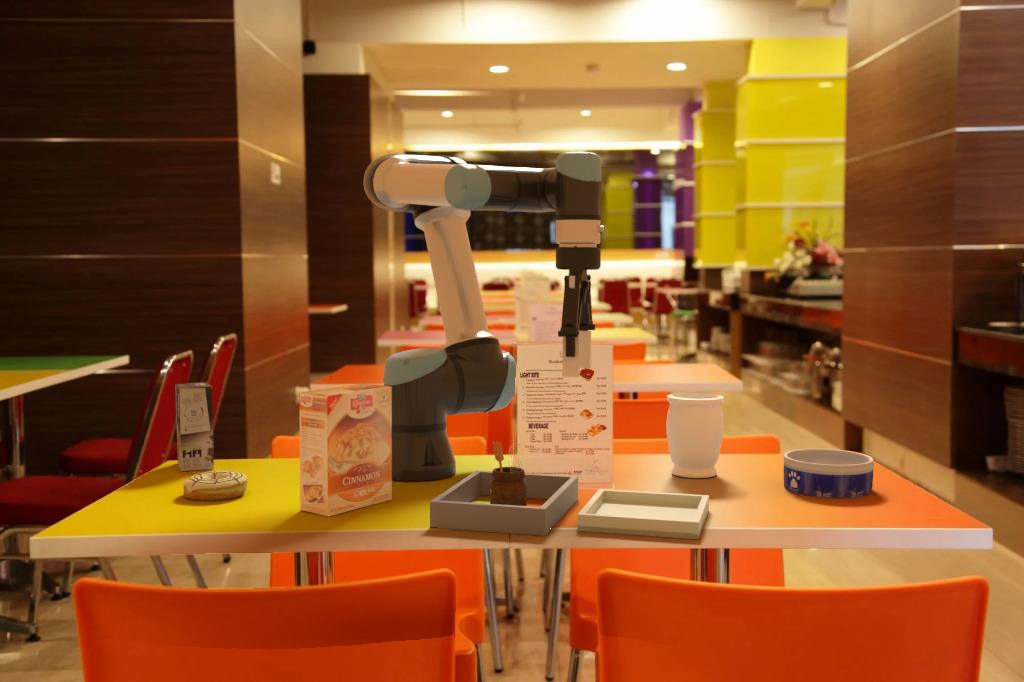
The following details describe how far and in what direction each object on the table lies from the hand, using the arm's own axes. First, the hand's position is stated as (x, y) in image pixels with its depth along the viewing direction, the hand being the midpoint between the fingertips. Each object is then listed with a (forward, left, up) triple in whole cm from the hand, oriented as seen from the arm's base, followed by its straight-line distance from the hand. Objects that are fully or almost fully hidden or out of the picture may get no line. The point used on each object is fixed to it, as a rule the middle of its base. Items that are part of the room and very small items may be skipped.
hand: (577, 372), depth 178 cm
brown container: (-8, -14, -22) cm, 27 cm away
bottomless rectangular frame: (-8, -14, -22) cm, 27 cm away
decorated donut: (-60, -15, -22) cm, 66 cm away
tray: (+14, -13, -22) cm, 28 cm away
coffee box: (-77, +6, -22) cm, 81 cm away
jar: (+18, +24, -22) cm, 37 cm away
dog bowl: (+42, +18, -22) cm, 51 cm away
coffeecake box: (-35, -16, -22) cm, 44 cm away
